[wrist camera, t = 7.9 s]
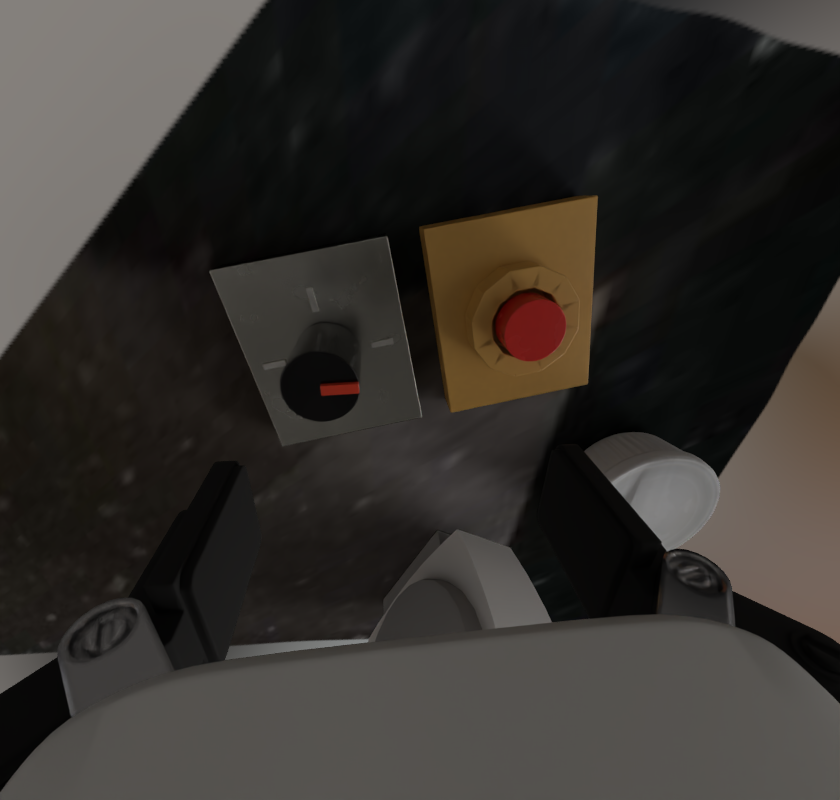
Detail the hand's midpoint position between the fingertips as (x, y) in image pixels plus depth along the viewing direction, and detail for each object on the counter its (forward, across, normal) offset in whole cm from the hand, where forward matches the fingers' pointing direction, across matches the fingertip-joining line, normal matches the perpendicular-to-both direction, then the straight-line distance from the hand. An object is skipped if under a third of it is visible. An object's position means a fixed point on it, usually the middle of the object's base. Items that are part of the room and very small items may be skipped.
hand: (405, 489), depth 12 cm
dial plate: (+16, +4, +1) cm, 16 cm away
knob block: (+16, -8, -2) cm, 18 cm away
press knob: (+12, -8, -2) cm, 15 cm away
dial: (+14, +4, +1) cm, 14 cm away
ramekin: (+16, -20, +13) cm, 29 cm away
